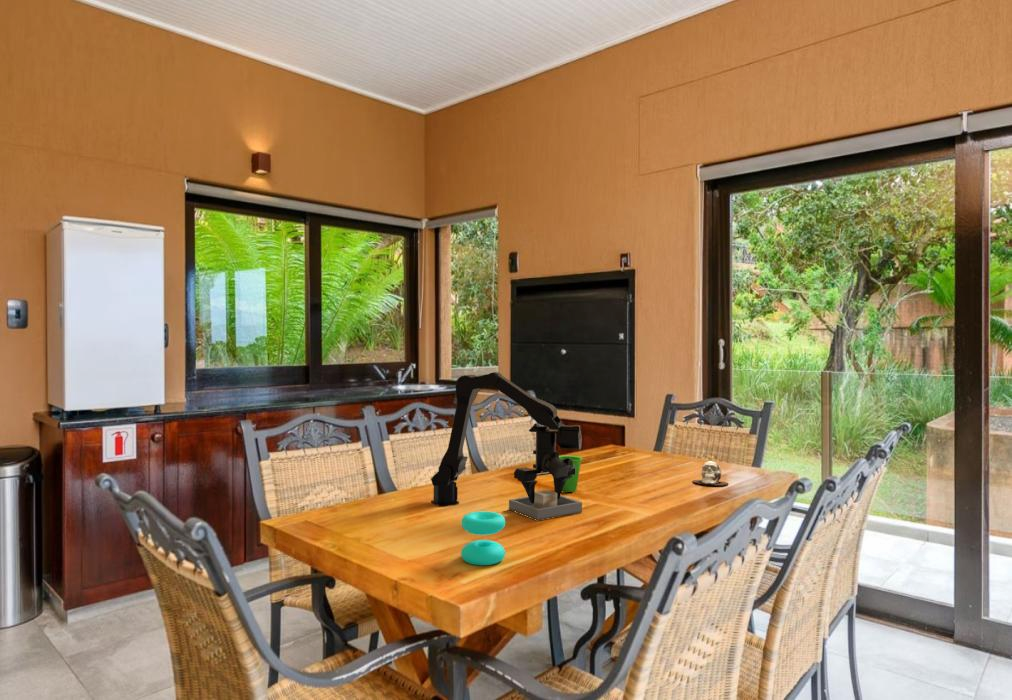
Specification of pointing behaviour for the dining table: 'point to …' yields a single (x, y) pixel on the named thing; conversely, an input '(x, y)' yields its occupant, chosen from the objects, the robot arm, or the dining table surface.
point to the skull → (710, 474)
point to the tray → (563, 508)
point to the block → (545, 499)
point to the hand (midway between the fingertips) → (545, 501)
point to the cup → (572, 482)
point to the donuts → (483, 549)
